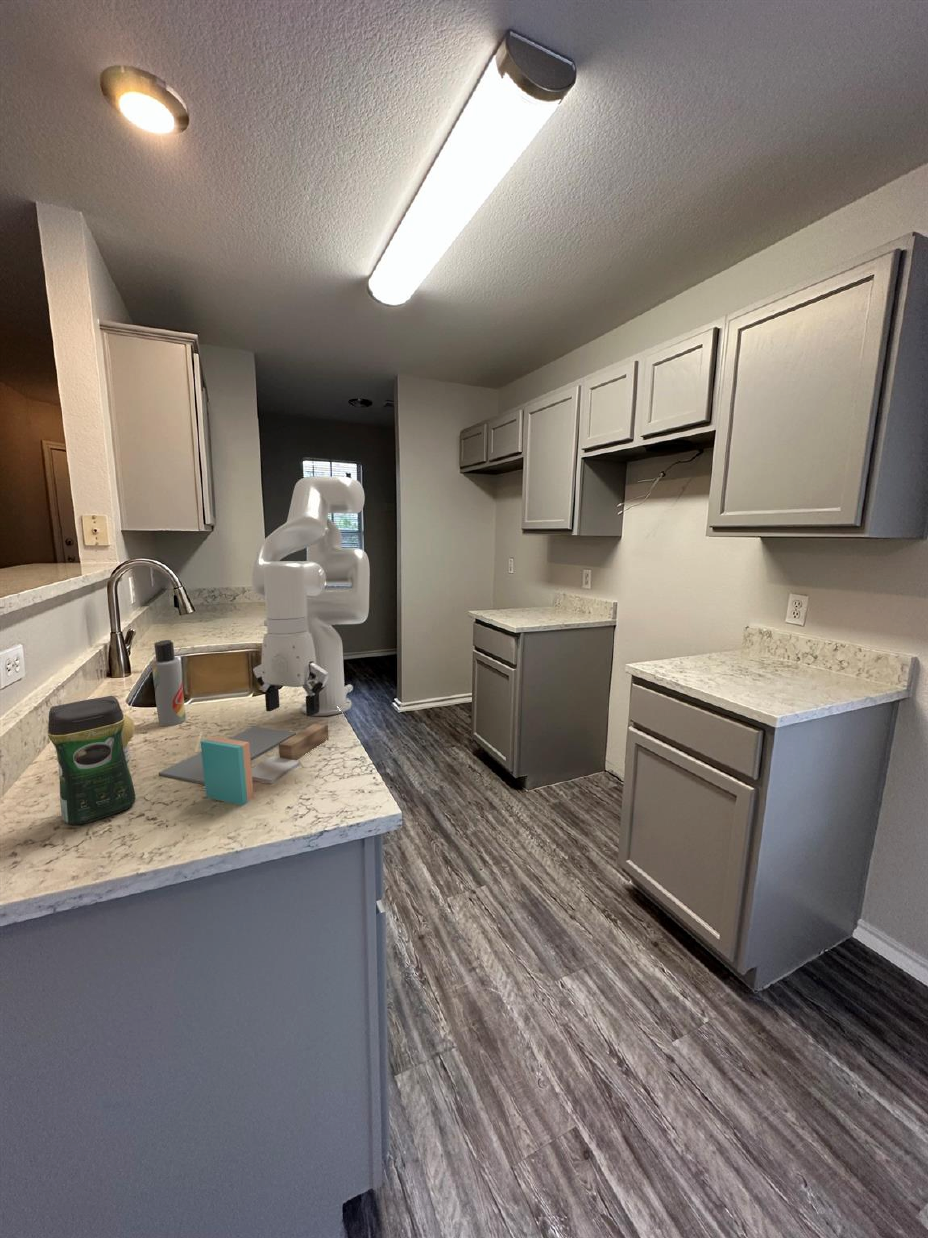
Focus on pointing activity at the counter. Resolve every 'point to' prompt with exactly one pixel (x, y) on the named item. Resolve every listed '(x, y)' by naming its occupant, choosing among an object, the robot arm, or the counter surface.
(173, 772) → the mat
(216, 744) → the kitchen sponge
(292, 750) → the turner
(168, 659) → the lotion bottle
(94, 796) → the coffee jar
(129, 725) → the light bulb
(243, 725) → the counter surface
